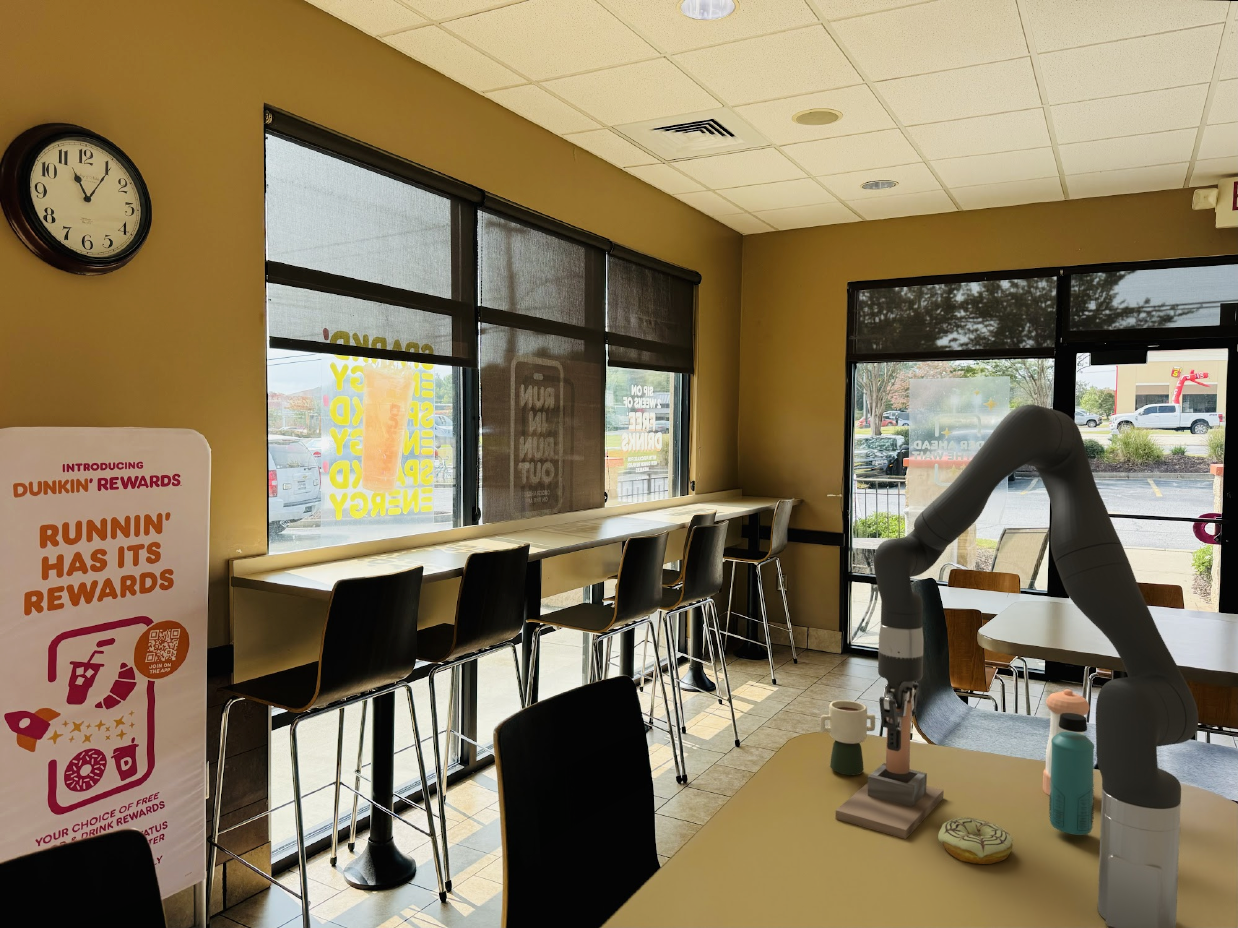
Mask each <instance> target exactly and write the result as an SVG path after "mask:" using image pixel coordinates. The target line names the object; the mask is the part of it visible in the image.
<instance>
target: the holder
mask: <svg viewBox="0 0 1238 928" xmlns="http://www.w3.org/2000/svg"><path fill="white" fill-rule="evenodd" d="M927 778H928V773H927V772H923V771H920V770H919V771H918V770H915V769H911V768H910V770H909V772H908V773H906V774H896V773H892V772H889V771H888V770H886V762H883V763H882V764H881V765H880V766H879V767H878V768H876V769H874V770H873V772H871V773H870V774H869V775H868V776H867V783H866V784H864V785H863V786H862V787H861V788H860V789H859V790H858V791H856V792H855V793H853V795H852V796H850V797H849V798H848V799H847V800H846V801H844V802H843V803H842V804H841V805H840V806H839V807H837V808H836V809H835V820H838V821H842V822H844V823H848V824H852V825H856V826H859V827H863V828H867V829H869V830H873V831H877V832H880V833H884V834H886V835H891V836H894V837H897V838H899V839H900V838H901V839H905V840H906V839H907V838H908V837H910V835H911V834H912V832H914V830H916V828H917V827H918V826H919V825H920V824H921V823H922V822H923V821H924V820H925V819H926V817H927V816H928V815H929V814H930V813H931V812H932V811H933V810H934V809H935V808H936V806H938V805H939V803H941V801H942V800H943V799H944V789H941V788H938V787H933V786H929V785H927V782H928V781H927V780H928V779H927Z"/></svg>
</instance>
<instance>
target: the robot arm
mask: <svg viewBox="0 0 1238 928" xmlns="http://www.w3.org/2000/svg"><path fill="white" fill-rule="evenodd" d="M1087 453H1088V452H1087V451H1086V446H1085V443H1084V440H1083V436H1082V433H1081V431H1080V429H1079V425H1077V423H1076V422H1075V420H1074V419H1073V418H1071V417H1070V416H1069V415H1068V414H1066V413H1064V412H1062V411H1059V410H1055V409H1054V408H1053V409H1052V408H1049V407H1045V406H1041V405H1037V404H1024V405H1020V406H1018V407H1016V408H1014V409H1012V410H1011V411H1010V412H1009V413H1007V414H1006V416H1004V418H1003V419H1002V420H1001V421H1000V422H999V423H998V425H997V426H996V428H995V429H994V430H993V431H992V433H991V434H990V435H989V437H988V438H987V439H986V440H985V442H984V443H983V444H982V446H981V447H980V449H979V450H978V451H977V452H976V454H975V455H974V456H973V457H972V458H971V460H970V461H969V462H968V464H967V465H966V466H965V467H964V468H963V470H962V471H961V473H960V474H959V475H958V476H957V477H956V478H955V480H954V481H953V482H952V483H950V485H949V486H948V487H947V488H946V489H945V490H944V491H943V492H942V493H941V494H940V495H938V496H937V497H936V498H935V499H934V500H933V501H932V502H931V503H930V504H928V506H927V507H925V508H924V509H923V511H922V512H920V513H919V515H918V516H917V517H916V518H915V520H914V523H913V530H912V531H910V533H909V534H907V535H906V536H904V537H898V538H897V537H896V538H890V539H886V540H884V541H882V542H881V543H880V544H879V545H878V547H877V548H876V551H875V554H874V558H873V566H874V567H873V569H874V575H875V579H876V584H877V588H878V593H879V596H880V600H881V604H880V628H879V631H878V632H879V634H878V654H877V655H878V658H877V659H878V662H877V663H878V664H877V665H878V667H877V672H878V673H877V674H878V675H879V676H880V677H881V678H882V679H885V680H886V682H887V684H886V687H885V690H884V696H880V697H879V699H878V702H879V710H880V718H881V726H882V728H886V742H887V748H888V749H889V750H893V751H899V750H900V749H901V728H902V718H903V717H905V716H906V708H907V703H908V702H909V703H911V722H913V717H915V716H916V714H917V713H916V710H917V704H918V696H919V690H920V689H919V688H920V684H919V683H918V681H921V680H922V678H923V673H924V633H923V616H924V615H923V613H924V612H923V611H924V605H923V599H922V596H921V595H920V594H919V593H917V592H915V591H913V588H912V582H911V578H912V577H917V576H918V577H919V576H920V575H922V574H924V573H926V571H928V570H929V569H931V568H932V567H933V566H934V565H935V564H936V562H937V561H938V560H939V558H941V556H942V555H943V554H944V552H945V551H946V549H947V548H948V546H949V545H951V544H952V543H953V542H955V541H956V540H957V539H958V538H960V537H961V535H963V533H965V532H966V531H967V530H968V529H969V528H970V527H971V526H973V525H974V523H975V522H976V521H977V520H978V519H979V518H980V516H981V515H982V513H983V511H984V510H985V507H986V505H987V503H988V501H989V499H990V497H991V495H992V493H993V492H994V490H995V489H996V488H997V486H999V484H1000V483H1001V482H1002V481H1003V480H1005V478H1006V477H1008V476H1010V475H1011V474H1012V473H1013V472H1015V471H1017V470H1018V469H1020V468H1021V467H1024V466H1025V465H1027V466H1031V467H1033V468H1035V469H1036V471H1037V473H1038V474H1039V477H1040V478H1041V480H1042V484H1043V485H1044V488H1045V490H1046V492H1047V494H1048V497H1049V502H1050V506H1051V527H1050V550H1051V555H1052V559H1053V561H1054V563H1055V566H1056V569H1057V572H1058V575H1059V577H1060V580H1061V582H1062V585H1063V587H1064V589H1065V592H1066V594H1067V595H1068V597H1069V598H1070V600H1071V601H1072V603H1074V605H1075V606H1076V607H1077V609H1079V611H1080V612H1082V614H1083V615H1084V616H1085V617H1086V618H1087V619H1089V621H1091V623H1093V625H1095V626H1096V627H1097V629H1098V630H1099V631H1101V632H1102V634H1103V635H1105V637H1106V638H1107V639H1108V640H1109V642H1110V643H1111V645H1112V646H1113V647H1114V649H1115V651H1116V652H1117V654H1118V656H1119V658H1120V660H1121V662H1122V665H1123V667H1124V669H1125V671H1126V674H1127V677H1120V678H1113V679H1111V680H1108V681H1106V683H1104V685H1102V687H1101V688H1100V690H1099V692H1098V695H1097V698H1096V702H1095V703H1096V704H1095V739H1096V741H1095V742H1096V745H1095V746H1096V748H1095V749H1096V751H1095V752H1096V753H1095V754H1096V755H1095V756H1096V763H1097V767H1098V770H1099V773H1100V775H1101V808H1100V834H1099V835H1100V837H1099V838H1100V839H1099V865H1098V891H1097V893H1098V894H1097V895H1098V896H1097V899H1098V900H1097V910H1098V913H1099V915H1100V916H1101V918H1103V919H1104V920H1105V925H1106V926H1108V927H1110V928H1177V912H1178V911H1177V908H1178V879H1179V877H1178V876H1179V856H1180V855H1179V853H1180V852H1179V851H1180V849H1179V848H1180V825H1181V802H1182V787H1181V782H1180V781H1179V779H1178V778H1177V777H1176V776H1175V775H1174V774H1172V773H1170V772H1168V771H1166V770H1164V769H1162V768H1160V767H1158V749H1157V748H1158V747H1166V746H1171V745H1177V744H1183V743H1185V742H1188V741H1190V740H1191V739H1192V738H1193V737H1194V736H1195V734H1196V733H1197V731H1198V727H1199V711H1198V707H1197V703H1196V700H1195V699H1194V698H1195V697H1194V696H1193V693H1192V691H1191V689H1190V686H1189V685H1188V683H1187V681H1186V679H1185V678H1184V676H1183V674H1182V672H1181V671H1180V668H1179V667H1178V665H1177V663H1176V661H1175V659H1174V657H1173V656H1172V654H1171V652H1170V650H1169V648H1168V646H1167V644H1166V642H1165V641H1164V638H1163V637H1162V635H1161V633H1160V631H1159V630H1158V629H1159V628H1158V626H1157V624H1156V623H1155V620H1154V618H1153V616H1152V614H1151V611H1150V609H1149V607H1148V604H1147V603H1146V600H1145V598H1144V596H1143V593H1142V591H1141V589H1140V587H1139V584H1138V581H1137V579H1136V576H1135V574H1134V571H1133V568H1132V566H1131V565H1132V564H1131V563H1130V561H1129V558H1128V556H1127V554H1126V550H1125V549H1124V548H1125V547H1124V546H1123V544H1122V541H1121V539H1120V537H1119V535H1118V533H1117V531H1116V528H1115V527H1114V524H1113V522H1112V519H1111V517H1110V514H1109V512H1108V509H1107V506H1106V505H1105V502H1104V501H1103V498H1102V496H1101V494H1100V492H1099V491H1100V490H1099V488H1098V487H1097V483H1096V481H1095V478H1094V474H1093V471H1092V467H1091V464H1090V461H1089V460H1090V459H1089V457H1088V454H1087ZM896 709H901V711H900V712H897V710H896ZM897 717H898V719H897ZM891 719H892V722H891ZM887 728H888V729H887Z"/></svg>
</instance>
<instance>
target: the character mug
mask: <svg viewBox="0 0 1238 928" xmlns="http://www.w3.org/2000/svg"><path fill="white" fill-rule="evenodd" d="M868 720H870V725H868ZM826 721H828V726H826ZM875 729H876V715H875V714H873V713H868V707H867V705H866V704H864V703H861V702H858V701H854V700H844V699H841V700H840V699H839V700H833V701H831V702H830V703H829V706H828V714H823V715H820V718H819V730H820V732H822V733H829V736H830V738H831V739H833V740H834V742H833V744H832V751H831V756H830V762H829V763H830V766H829V767H830V769H831V770H833V771H834V772H837V773H839V774H842V775H847V776H857V775H859V774H862V773H863V771H864V769H865V768H864V760H863V750H862V746H861V743H863V742H865V740H866V738H867V735H868V734H867V733H868V732H873V731H875Z"/></svg>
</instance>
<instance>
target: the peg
mask: <svg viewBox="0 0 1238 928" xmlns="http://www.w3.org/2000/svg"><path fill="white" fill-rule="evenodd" d="M896 710H897V712H900V711H901V709H896ZM897 719H898V717H897ZM891 722H892V719H891ZM911 723H912V721H911V703H909V702H908V703H907V708H906V716H905V717H903V718H902V728H901V749H900V750H899V751H893V750H889V749H888V748H887V741H886V749H885V751H886V752H885V754H886V755H885V763H886V770H888V771H889V772H892V773H896V774H906V773H908V772H909V770H910V769H911V768H910V766H911V764H910V763H911V760H910V759H911V758H910V757H911ZM887 729H888V728H886V730H887Z"/></svg>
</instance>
